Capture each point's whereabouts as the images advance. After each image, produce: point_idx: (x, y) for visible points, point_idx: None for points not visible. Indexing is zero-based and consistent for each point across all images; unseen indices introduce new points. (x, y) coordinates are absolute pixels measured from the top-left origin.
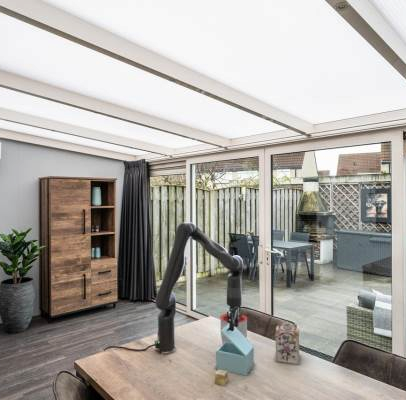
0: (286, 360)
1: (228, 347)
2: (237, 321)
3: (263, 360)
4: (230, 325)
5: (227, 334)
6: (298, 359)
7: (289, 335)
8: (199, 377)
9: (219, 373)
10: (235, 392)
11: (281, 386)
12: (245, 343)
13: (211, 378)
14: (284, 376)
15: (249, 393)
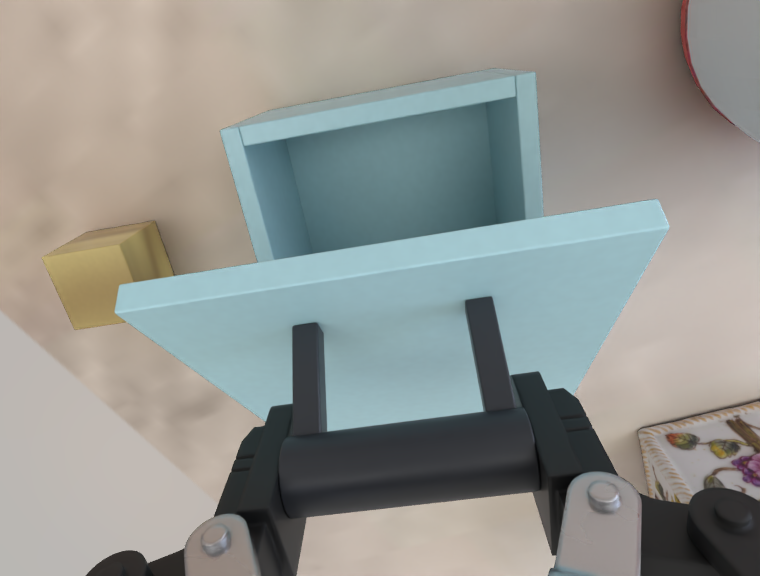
0: (654, 495)
1: (506, 125)
2: (544, 518)
3: (616, 353)
4: (227, 511)
5: (234, 359)
6: None
7: None
8: (48, 77)
9: (69, 286)
10: (109, 384)
11: (348, 536)
12: (459, 412)
13: (115, 170)
14: (464, 518)
15: (163, 444)
